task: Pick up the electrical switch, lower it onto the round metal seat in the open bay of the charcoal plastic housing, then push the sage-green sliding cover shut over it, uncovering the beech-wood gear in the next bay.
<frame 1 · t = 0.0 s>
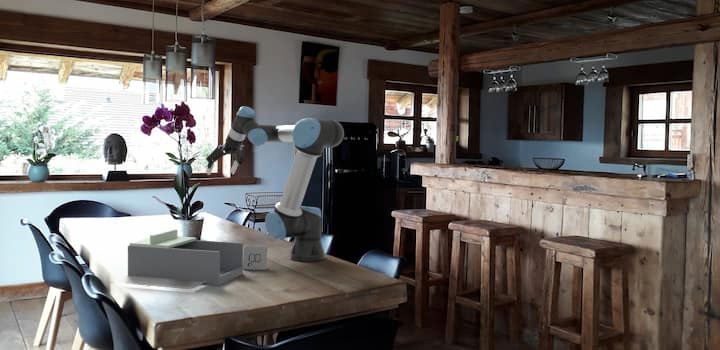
hand: (220, 173, 281), 36 cm above the table, tool tilted 35°, fingers open, 13 cm apart
coffee mug: (174, 261, 249), on the table
electrical switch: (255, 269, 237), on the table
cover: (164, 237, 223), point 14 cm above the table, slide at 18.5 cm, touching housing
housing: (192, 276, 221), on the table
wooden gear: (171, 272, 223), point 1 cm above the table, touching housing
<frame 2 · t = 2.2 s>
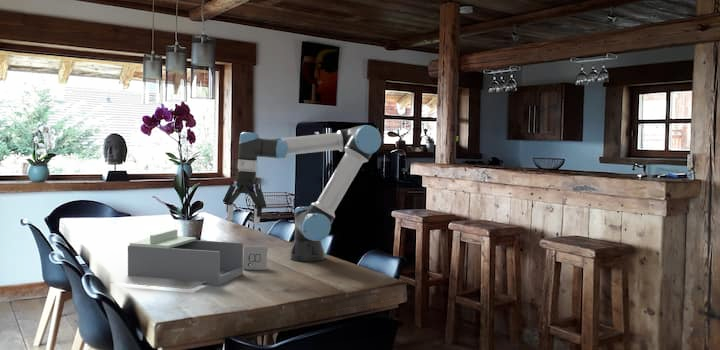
hand: (242, 222, 239), 18 cm above the table, tool pointing down, fingers open, 13 cm apart
nothing on the table moved.
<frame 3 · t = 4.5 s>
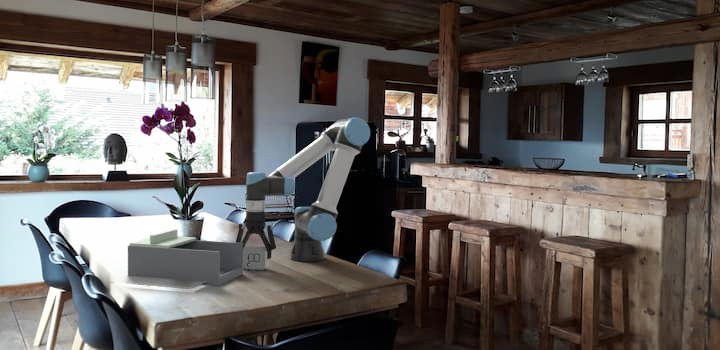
hand: (255, 265, 237), 1 cm above the table, tool pointing down, fingers closed on electrical switch, 9 cm apart
electrical switch: (254, 269, 237), on the table, touching gripper
everything else where it was.
when the fingers open (4 cm above the table, at t = 10.5 s): electrical switch drops 1 cm, resting on housing.
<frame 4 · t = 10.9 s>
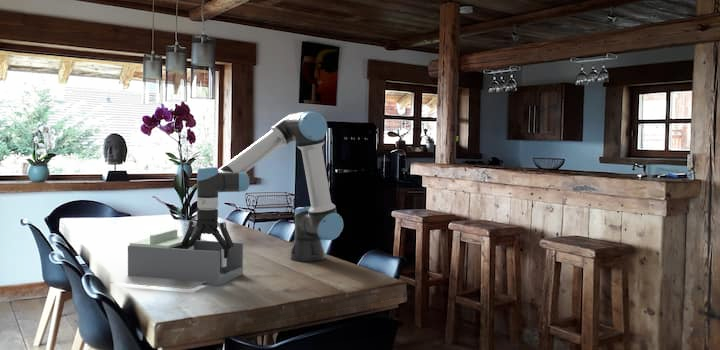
hand: (207, 265, 219), 5 cm above the table, tool pointing down, fingers open, 13 cm apart
electrical switch: (205, 275, 220), point 1 cm above the table, touching housing
cover: (164, 237, 223), point 14 cm above the table, slide at 18.5 cm, touching gripper, hand, housing
everything else where it was.
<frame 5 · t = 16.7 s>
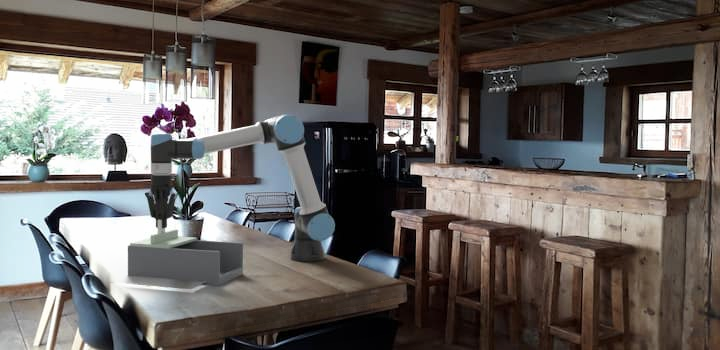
hand: (161, 236, 223), 14 cm above the table, tool pointing down, fingers closed
cover: (164, 237, 223), point 14 cm above the table, slide at 18.3 cm, touching gripper, housing
everything else where it was.
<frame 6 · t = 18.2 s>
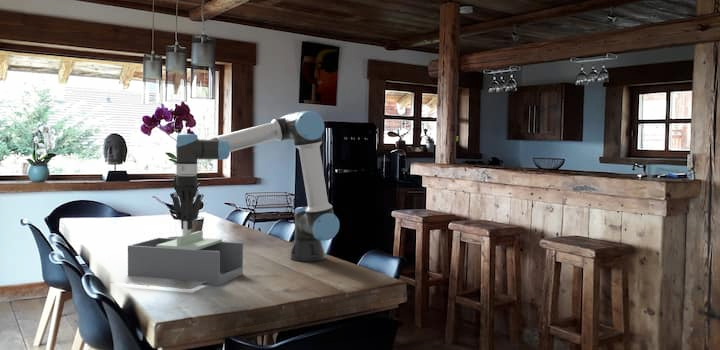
hand: (186, 238, 221), 15 cm above the table, tool pointing down, fingers closed
cover: (190, 239, 220), point 14 cm above the table, slide at 7.5 cm, touching gripper, housing
everything else where it was.
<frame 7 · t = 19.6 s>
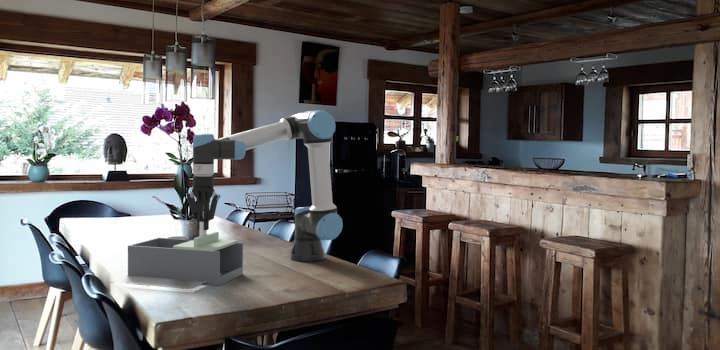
hand: (203, 238, 219), 15 cm above the table, tool pointing down, fingers closed
cover: (206, 240, 219), point 14 cm above the table, slide at 0.8 cm, touching gripper, housing
everything else where it was.
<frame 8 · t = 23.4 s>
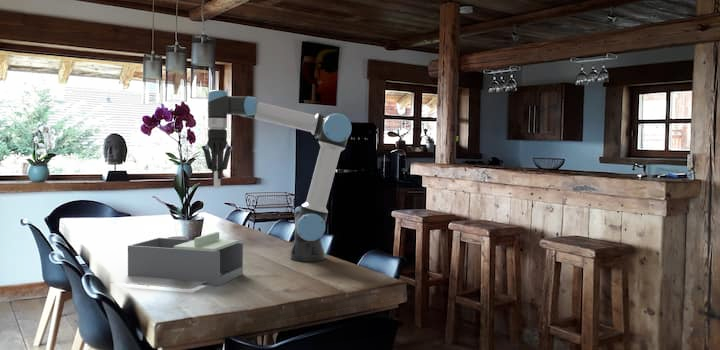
hand: (217, 186, 240), 32 cm above the table, tool pointing down, fingers closed
cover: (207, 240, 219), point 14 cm above the table, slide at 0.6 cm, touching housing
everything else where it was.
at the end: electrical switch inside the target area on the housing (0.7 cm from its centre), point 0.9 cm above the housing's base; electrical switch tilted 0°; cover slide at 0.6 cm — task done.
